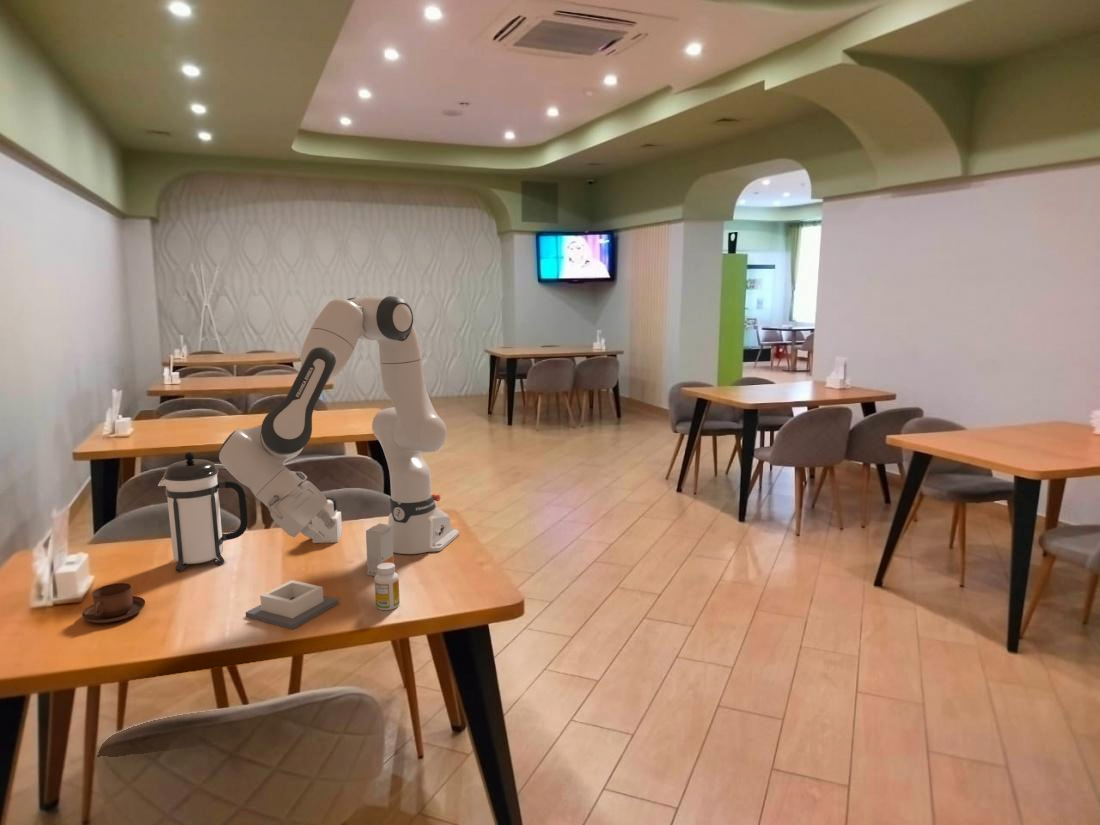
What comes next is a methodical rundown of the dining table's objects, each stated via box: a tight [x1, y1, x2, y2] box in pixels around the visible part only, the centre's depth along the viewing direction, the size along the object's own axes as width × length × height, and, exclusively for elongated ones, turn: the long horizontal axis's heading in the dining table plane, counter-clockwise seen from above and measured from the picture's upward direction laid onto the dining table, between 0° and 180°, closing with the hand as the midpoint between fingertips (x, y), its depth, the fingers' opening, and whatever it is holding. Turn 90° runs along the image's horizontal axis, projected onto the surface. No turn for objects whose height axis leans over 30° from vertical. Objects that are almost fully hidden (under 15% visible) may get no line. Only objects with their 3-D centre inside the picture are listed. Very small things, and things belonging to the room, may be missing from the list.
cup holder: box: [245, 579, 339, 630], centre depth 161 cm, size 14×14×4 cm
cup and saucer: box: [81, 582, 146, 624], centre depth 158 cm, size 12×12×6 cm
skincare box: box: [365, 523, 395, 577], centre depth 181 cm, size 6×4×12 cm
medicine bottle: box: [310, 496, 343, 544], centre depth 206 cm, size 7×7×12 cm
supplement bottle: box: [374, 563, 401, 611], centre depth 162 cm, size 5×5×10 cm
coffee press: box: [157, 451, 248, 573], centre depth 188 cm, size 17×16×30 cm
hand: (327, 533), depth 159 cm, fingers open, 8 cm apart
